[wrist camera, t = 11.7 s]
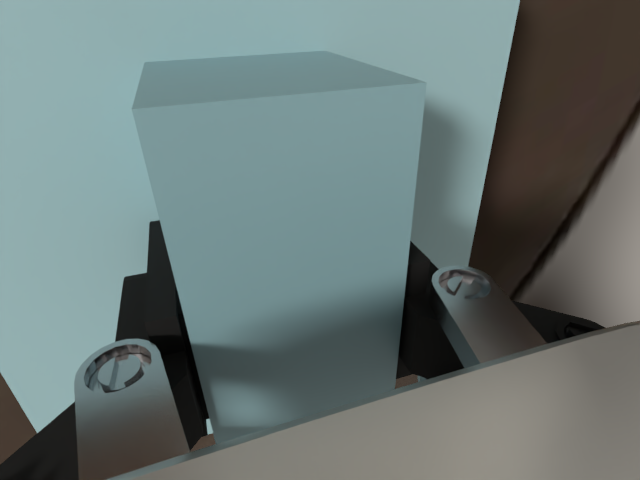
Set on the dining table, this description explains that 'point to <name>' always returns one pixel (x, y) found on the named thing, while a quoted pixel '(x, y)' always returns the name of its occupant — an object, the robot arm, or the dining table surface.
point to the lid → (238, 184)
